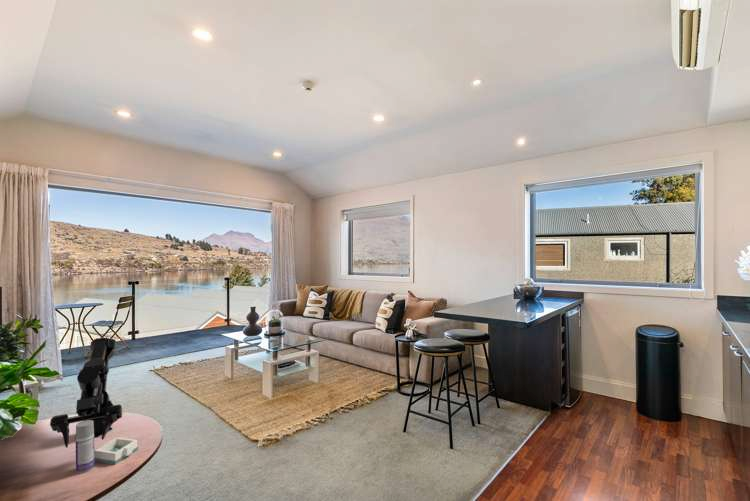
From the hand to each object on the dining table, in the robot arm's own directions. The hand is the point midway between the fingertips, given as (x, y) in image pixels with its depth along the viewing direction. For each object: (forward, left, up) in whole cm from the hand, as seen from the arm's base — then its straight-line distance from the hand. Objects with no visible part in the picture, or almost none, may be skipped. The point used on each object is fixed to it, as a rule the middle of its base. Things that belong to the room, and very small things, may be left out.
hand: (84, 443), depth 116 cm
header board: (+3, +9, -9) cm, 13 cm away
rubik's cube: (-22, +28, -9) cm, 37 cm away
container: (0, 0, -9) cm, 9 cm away
